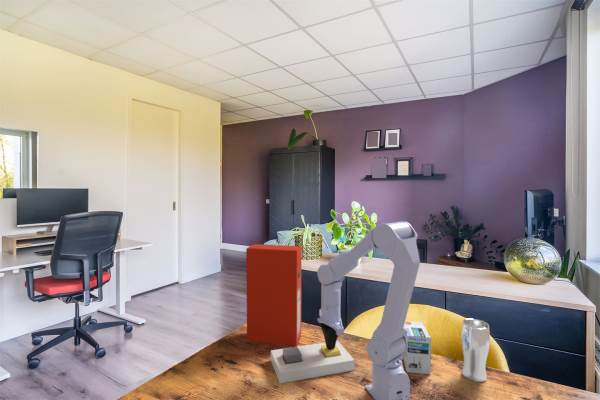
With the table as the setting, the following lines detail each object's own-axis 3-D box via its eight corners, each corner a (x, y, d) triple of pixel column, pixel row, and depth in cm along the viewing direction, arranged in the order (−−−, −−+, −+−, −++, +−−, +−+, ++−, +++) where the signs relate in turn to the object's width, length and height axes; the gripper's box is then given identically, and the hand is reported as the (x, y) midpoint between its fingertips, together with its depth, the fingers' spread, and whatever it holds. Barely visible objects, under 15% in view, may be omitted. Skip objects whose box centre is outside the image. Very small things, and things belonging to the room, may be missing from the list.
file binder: (296, 347, 105) (296, 250, 104) (246, 341, 109) (246, 248, 107) (301, 335, 113) (301, 245, 111) (254, 331, 116) (254, 243, 115)
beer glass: (492, 385, 86) (494, 330, 85) (464, 381, 87) (466, 327, 86) (483, 370, 92) (484, 319, 92) (457, 367, 94) (458, 317, 93)
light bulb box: (431, 375, 90) (432, 337, 89) (406, 373, 91) (407, 335, 90) (422, 355, 100) (423, 321, 100) (400, 353, 102) (401, 320, 101)
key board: (354, 370, 92) (354, 360, 92) (279, 383, 86) (279, 372, 86) (337, 349, 104) (337, 340, 103) (270, 360, 97) (270, 350, 97)
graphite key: (301, 364, 91) (301, 354, 91) (286, 366, 90) (286, 356, 90) (297, 356, 96) (297, 346, 95) (282, 358, 94) (282, 348, 94)
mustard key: (340, 360, 95) (340, 350, 95) (326, 363, 94) (326, 353, 93) (334, 353, 99) (334, 343, 99) (320, 355, 98) (320, 345, 98)
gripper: (310, 296, 101) (310, 338, 102) (327, 314, 87) (327, 362, 88) (331, 294, 103) (330, 335, 104) (350, 311, 90) (350, 359, 90)
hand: (330, 348), depth 96 cm, fingers closed
